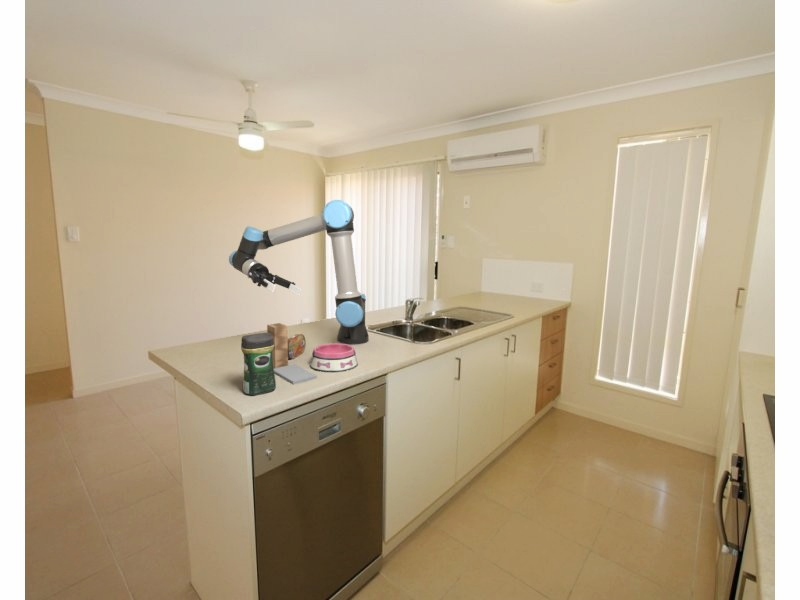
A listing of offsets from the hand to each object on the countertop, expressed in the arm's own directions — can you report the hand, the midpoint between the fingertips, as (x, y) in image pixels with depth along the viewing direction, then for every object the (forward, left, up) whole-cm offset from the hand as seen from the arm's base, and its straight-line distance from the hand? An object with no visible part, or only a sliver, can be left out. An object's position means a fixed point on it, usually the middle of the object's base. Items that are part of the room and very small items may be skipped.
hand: (287, 291), depth 149 cm
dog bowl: (-14, +13, -28) cm, 34 cm away
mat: (+2, +18, -28) cm, 33 cm away
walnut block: (+6, +7, -28) cm, 29 cm away
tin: (-3, -4, -28) cm, 29 cm away
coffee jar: (+16, +28, -28) cm, 42 cm away
